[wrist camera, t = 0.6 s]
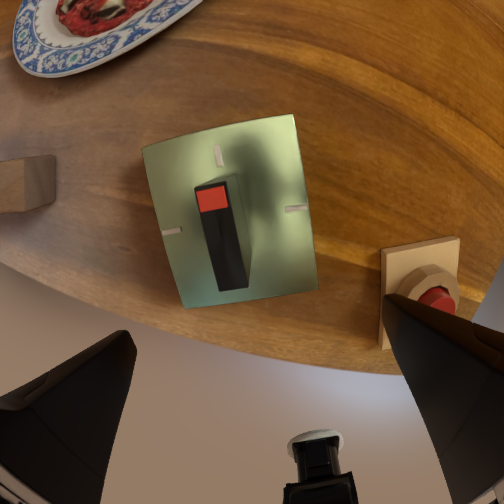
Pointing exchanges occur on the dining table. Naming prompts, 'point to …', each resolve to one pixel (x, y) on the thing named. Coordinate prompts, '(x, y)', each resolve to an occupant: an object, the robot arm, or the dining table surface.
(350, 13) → the dining table surface
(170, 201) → the panel
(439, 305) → the red button
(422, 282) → the button block
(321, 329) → the dining table surface
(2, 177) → the wooden block
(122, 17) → the ceramic plate
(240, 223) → the red-capped black block
